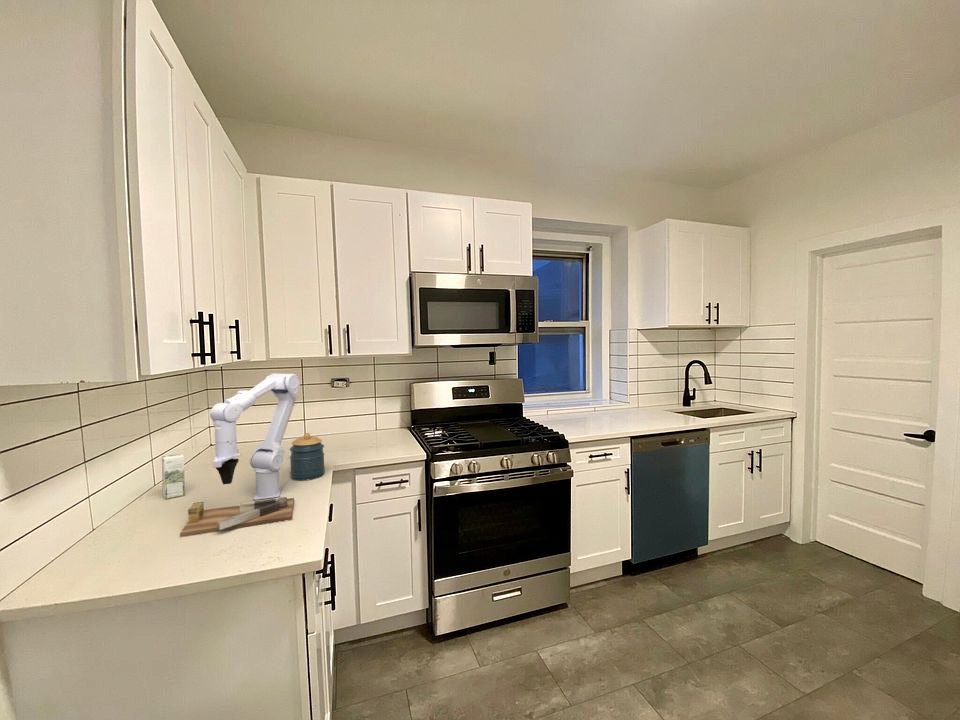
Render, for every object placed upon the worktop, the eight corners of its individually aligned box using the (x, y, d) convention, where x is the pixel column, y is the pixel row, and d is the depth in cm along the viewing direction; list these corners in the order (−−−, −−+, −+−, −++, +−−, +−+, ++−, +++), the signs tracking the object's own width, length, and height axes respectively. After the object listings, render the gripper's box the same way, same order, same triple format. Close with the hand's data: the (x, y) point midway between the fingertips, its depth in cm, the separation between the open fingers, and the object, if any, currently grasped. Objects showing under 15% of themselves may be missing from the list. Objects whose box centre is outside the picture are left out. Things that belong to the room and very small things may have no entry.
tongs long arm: (217, 528, 113) (216, 521, 113) (276, 508, 127) (276, 502, 127) (219, 530, 112) (219, 522, 112) (279, 509, 126) (279, 503, 126)
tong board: (196, 514, 126) (195, 503, 126) (294, 501, 137) (293, 490, 137) (180, 537, 111) (179, 523, 111) (291, 519, 122) (291, 507, 122)
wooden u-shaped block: (194, 515, 122) (193, 502, 122) (203, 514, 123) (203, 501, 123) (188, 523, 117) (188, 509, 117) (198, 521, 118) (198, 508, 118)
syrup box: (182, 491, 147) (181, 452, 147) (185, 495, 143) (184, 455, 142) (162, 495, 143) (161, 455, 143) (165, 500, 139) (163, 458, 138)
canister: (286, 482, 156) (285, 437, 156) (294, 472, 169) (293, 430, 168) (321, 479, 159) (320, 435, 158) (327, 469, 172) (326, 429, 171)
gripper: (231, 445, 121) (232, 490, 121) (248, 435, 135) (249, 475, 135) (204, 447, 119) (206, 492, 120) (224, 436, 133) (225, 476, 134)
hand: (227, 483), depth 127 cm, fingers closed
